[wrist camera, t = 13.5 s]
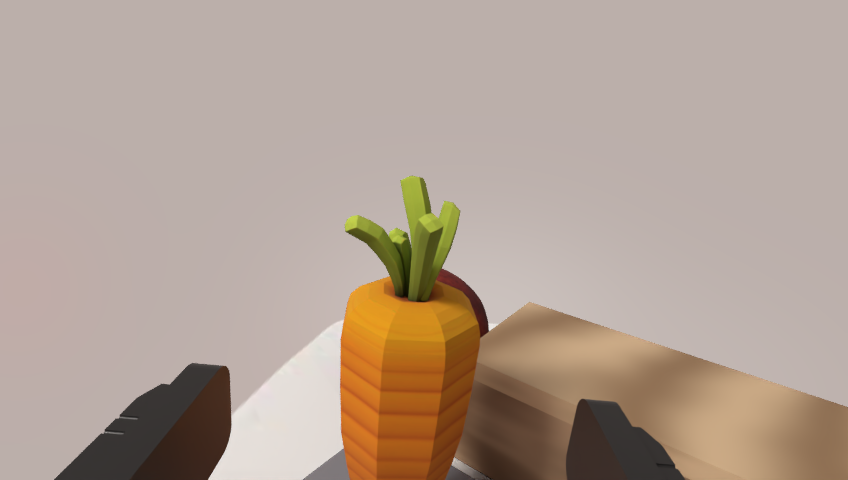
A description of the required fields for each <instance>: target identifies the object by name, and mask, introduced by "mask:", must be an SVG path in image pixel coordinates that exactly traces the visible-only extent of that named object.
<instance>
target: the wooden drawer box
mask: <svg viewBox="0 0 848 480" xmlns="http://www.w3.org/2000/svg"><path fill="white" fill-rule="evenodd" d="M581 399H591V400H602V401H613V402H616V403H618V405H619V406H620V407H621V409H622V411H623V412H624V414H625V415H626V417H627V419H628V420H629V422H630V423H631V425H632V427H641V428H642V429H644V430H645V431H646V432H647V433H648V434H649V435H651V436H652V437H653V438H654V439H655V440H656V441H658V442H659V443H660V444H661V445H662V446H663V448H664V449H665V450H666V452H667V453H668V455H669V456H670V458H671V459H672V461H673V462H674V464H675V468H676V469H678V470H679V471H680V473H681V474H682V475H683V477H684V478H685V480H848V407H845V406H843V405H839V404H837V403H834V402H831V401H827V400H824V399H822V398H819V397H815V396H812V395H809V394H806V393H803V392H800V391H797V390H794V389H791V388H788V387H785V386H782V385H779V384H776V383H773V382H770V381H767V380H764V379H761V378H758V377H755V376H752V375H749V374H746V373H743V372H740V371H737V370H734V369H730V368H728V367H725V366H722V365H719V364H715V363H712V362H709V361H706V360H703V359H700V358H697V357H694V356H691V355H688V354H685V353H682V352H679V351H676V350H673V349H670V348H667V347H664V346H661V345H658V344H655V343H652V342H649V341H646V340H643V339H640V338H637V337H634V336H631V335H627V334H625V333H622V332H619V331H615V330H612V329H609V328H607V327H604V326H601V325H598V324H594V323H591V322H588V321H585V320H582V319H579V318H576V317H573V316H570V315H567V314H564V313H561V312H558V311H555V310H552V309H549V308H546V307H543V306H540V305H537V304H534V303H531V302H529V303H527V304H526V305H525V306H524V307H522V308H521V309H519V310H518V311H517V312H515V313H514V314H513V315H511V316H510V317H508V318H507V319H506V320H504V321H503V322H502V323H500V324H499V325H498V326H496V327H495V328H493V329H492V330H491V331H489V332H488V333H487V334H485V335H484V336H483V337H481V338H480V347H479V353H478V358H477V364H476V370H475V375H474V381H473V386H472V392H471V396H470V401H469V406H468V410H467V415H466V419H465V424H464V429H463V433H462V437H461V440H460V442H459V445H458V448H457V451H456V453H455V456H454V457H455V458H457V459H459V460H460V461H462V462H464V463H465V464H467V465H469V466H471V467H472V468H474V469H476V470H477V471H479V472H481V473H482V474H484V475H486V476H488V477H489V478H491V479H493V480H567V475H566V454H567V449H568V445H569V440H570V435H571V431H572V426H573V422H574V417H575V413H576V408H577V405H578V402H579V401H580V400H581Z"/></svg>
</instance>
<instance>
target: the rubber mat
mask: <svg viewBox="0 0 848 480" xmlns="http://www.w3.org/2000/svg"><path fill="white" fill-rule="evenodd" d="M303 480H350V478H349V473H348V469H347V464H346V458H345V451H344V449H342V450H341V451H340V452H338V453H337V454H336V455H334V456H333V457H332V458H330V459H329V460H328V461H326V462H325V463H324V464H323V465H321V466H320V467H319V468H317V469H316V470H315V471H313V472H312V473H311V474H309V475H308V476H307V477H305V478H304V479H303ZM445 480H475V479H473V478H471V477H470V476H468V475H466V474H465V473H463V472H461V471H460V470H458V469H456V468H455V467H453V466H451V467H450V469H449V472H448V474H447V476H446V479H445Z"/></svg>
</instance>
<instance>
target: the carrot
mask: <svg viewBox="0 0 848 480" xmlns="http://www.w3.org/2000/svg"><path fill="white" fill-rule="evenodd" d="M401 186H402V192H403V198H404V204H405V208H406V213H407V218H408V223H409V228H410V234H411V244H410V241H409V237H408V234H407V233H406V232H404V231H402V230H400V229H398V228H395V229H394V230H392V231H391V232H390V233H389V236H388V235H387V233H386V232H385V230H384V229H383V228H382V227H380V226H379V225H377V224H375V223H373V222H372V221H371V220H368V219H366V218H364V217H361V216H359V215H357V216H351V217H350V218H349V219H347V221H346V224H345V231H346V232H347V233H349V234H351V235H352V236H354V237H356V238H358V239H360V240H361V241H364V242H365V243H367V244H368V246H369V247H370V248H371V249H372V250H373V251H374V252H375V253H376V254H377V255H378V257H379V258H380V260H381V261H382V262H383V263H384V265H385V266H386V268H387V271H388V273H389V275H390V276H389V277H387V278H383V279H380V280H377V281H374V282H371V283H368V284H366V285H362V286H360V287H359V288H357V289H356V290H355V291H353V292H352V293H351V295H350V297H349V300H348V303H347V308H346V314H345V319H344V324H343V329H342V336H341V378H340V393H341V433H342V439H343V445H344V451H345V458H346V464H347V469H348V473H349V478H350V480H445V479H446V476H447V474H448V472H449V469H450V467H451V464H452V462H453V459H454V456H455V453H456V451H457V448H458V445H459V442H460V440H461V437H462V433H463V429H464V424H465V419H466V415H467V410H468V406H469V401H470V396H471V392H472V386H473V381H474V375H475V370H476V364H477V358H478V353H479V347H480V330H479V324H478V321H477V319H476V316H475V313H474V311H473V308H472V305H471V303H470V300H469V299H468V298H467V296H466V295H465V294H464V293H463V292H462V291H460V290H458V289H456V288H453V287H451V286H449V285H446V284H444V283H442V282H439V281H437V280H436V279H437V277H438V275H439V273H440V270H441V268H442V266H443V264H444V262H445V260H446V258H447V255H448V253H449V251H450V249H451V246H452V243H453V239H454V236H455V233H456V230H457V225H458V220H459V215H460V210H459V209H458V208H457V207H456V205H455V204H454V203H452V202H447V201H444V204H443V207H442V210H441V213H440V216H439V218H437V217H436V216H435V215H434V214H433V213H431V206H430V201H429V197H428V192H427V188H426V183H425V181H424V179H423V178H420V177H415V176H409V177H407V178H405V179H403V180H401ZM411 245H412V248H411Z"/></svg>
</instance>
